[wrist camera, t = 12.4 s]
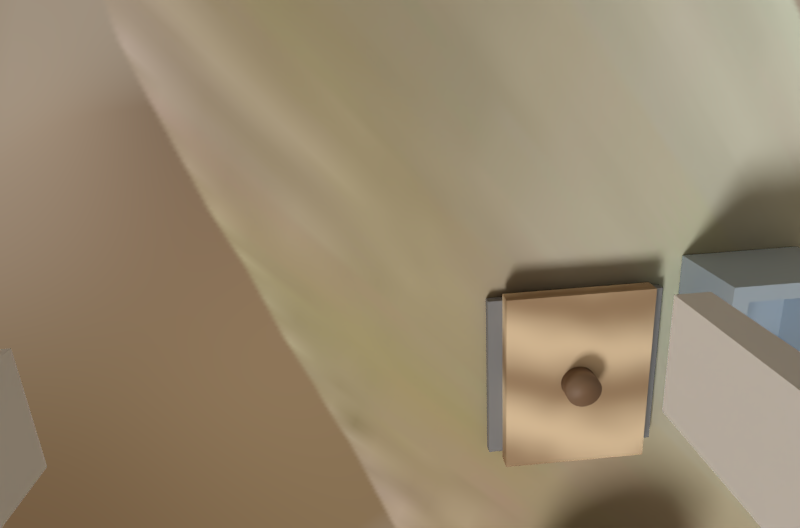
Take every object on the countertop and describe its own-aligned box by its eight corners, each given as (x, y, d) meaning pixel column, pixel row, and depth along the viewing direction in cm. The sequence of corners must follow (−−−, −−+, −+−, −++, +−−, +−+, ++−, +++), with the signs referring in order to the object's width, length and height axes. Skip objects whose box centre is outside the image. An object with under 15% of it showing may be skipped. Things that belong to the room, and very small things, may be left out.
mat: (486, 298, 41) (487, 301, 40) (658, 284, 42) (662, 287, 41) (487, 446, 45) (489, 451, 45) (644, 432, 46) (648, 437, 45)
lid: (502, 293, 40) (511, 308, 38) (648, 282, 41) (665, 295, 39) (502, 456, 45) (510, 477, 42) (634, 444, 45) (649, 464, 43)
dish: (682, 255, 41) (734, 287, 35) (796, 246, 41) (866, 277, 36) (666, 407, 45) (711, 458, 39) (770, 398, 45) (829, 447, 40)
